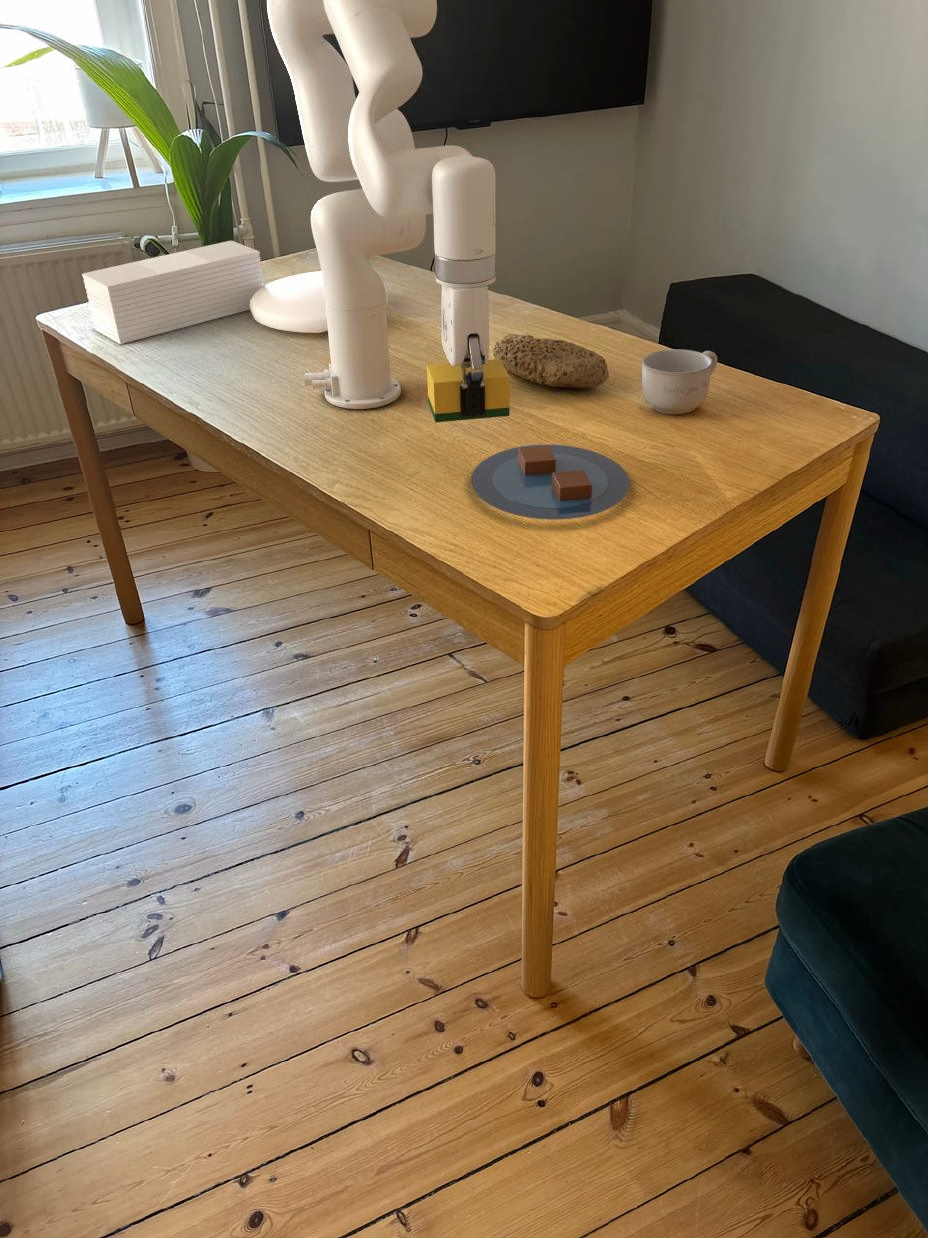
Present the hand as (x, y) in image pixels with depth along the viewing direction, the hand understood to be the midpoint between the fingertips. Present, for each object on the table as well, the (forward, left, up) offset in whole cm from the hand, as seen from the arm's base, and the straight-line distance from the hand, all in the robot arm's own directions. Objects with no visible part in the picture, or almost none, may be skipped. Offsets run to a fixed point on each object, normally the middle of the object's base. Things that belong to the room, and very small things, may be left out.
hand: (468, 402), depth 132 cm
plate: (-17, +74, -12) cm, 77 cm away
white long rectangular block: (-44, +78, -12) cm, 90 cm away
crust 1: (+10, 0, -10) cm, 14 cm away
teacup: (+38, +19, -12) cm, 44 cm away
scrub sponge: (0, 0, -1) cm, 1 cm away
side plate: (+11, -4, -12) cm, 16 cm away
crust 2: (+13, -8, -10) cm, 18 cm away
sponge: (+20, +33, -12) cm, 40 cm away
